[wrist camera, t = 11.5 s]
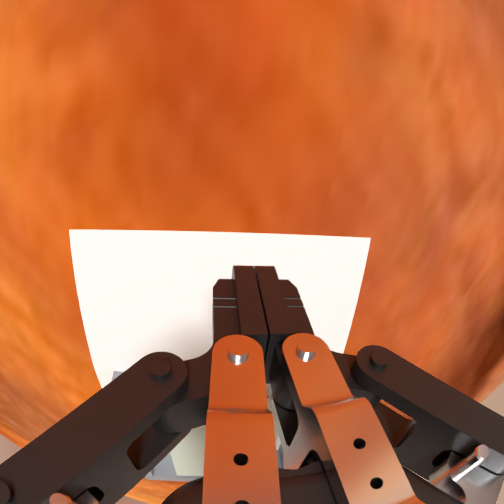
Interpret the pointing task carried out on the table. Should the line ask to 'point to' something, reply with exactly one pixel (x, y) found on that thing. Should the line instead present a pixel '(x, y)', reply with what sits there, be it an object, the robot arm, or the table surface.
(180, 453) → the grey rectangular block
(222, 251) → the loading dock
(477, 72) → the table surface
